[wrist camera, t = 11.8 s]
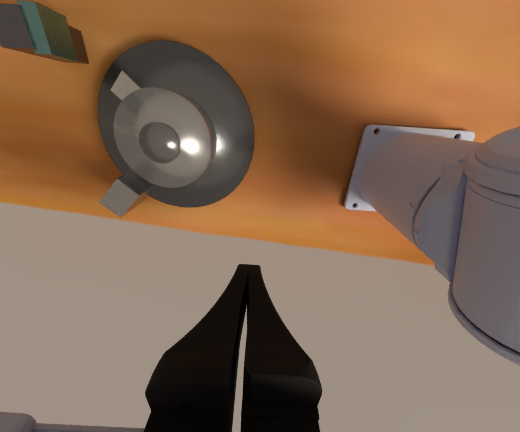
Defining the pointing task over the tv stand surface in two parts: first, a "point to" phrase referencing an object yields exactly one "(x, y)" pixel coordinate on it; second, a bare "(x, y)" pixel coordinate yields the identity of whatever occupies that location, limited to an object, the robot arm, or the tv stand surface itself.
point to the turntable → (199, 89)
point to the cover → (164, 136)
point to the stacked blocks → (40, 32)
